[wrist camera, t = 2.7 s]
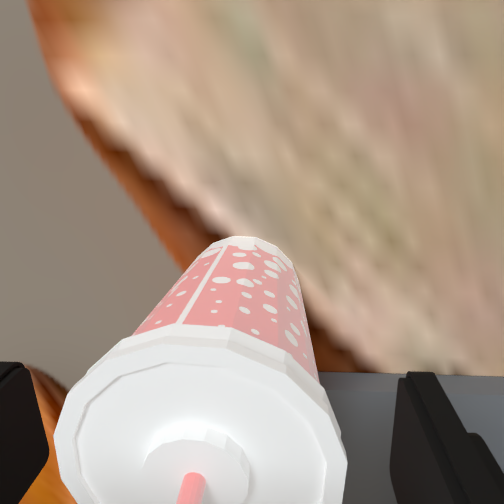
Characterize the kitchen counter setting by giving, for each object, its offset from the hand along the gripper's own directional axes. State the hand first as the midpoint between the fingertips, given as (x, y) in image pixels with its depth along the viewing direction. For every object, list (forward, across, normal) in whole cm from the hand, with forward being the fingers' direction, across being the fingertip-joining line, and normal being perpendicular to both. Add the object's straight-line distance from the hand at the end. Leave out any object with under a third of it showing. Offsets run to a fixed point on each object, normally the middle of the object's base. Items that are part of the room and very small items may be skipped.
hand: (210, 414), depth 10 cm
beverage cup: (+7, 0, 0) cm, 7 cm away
